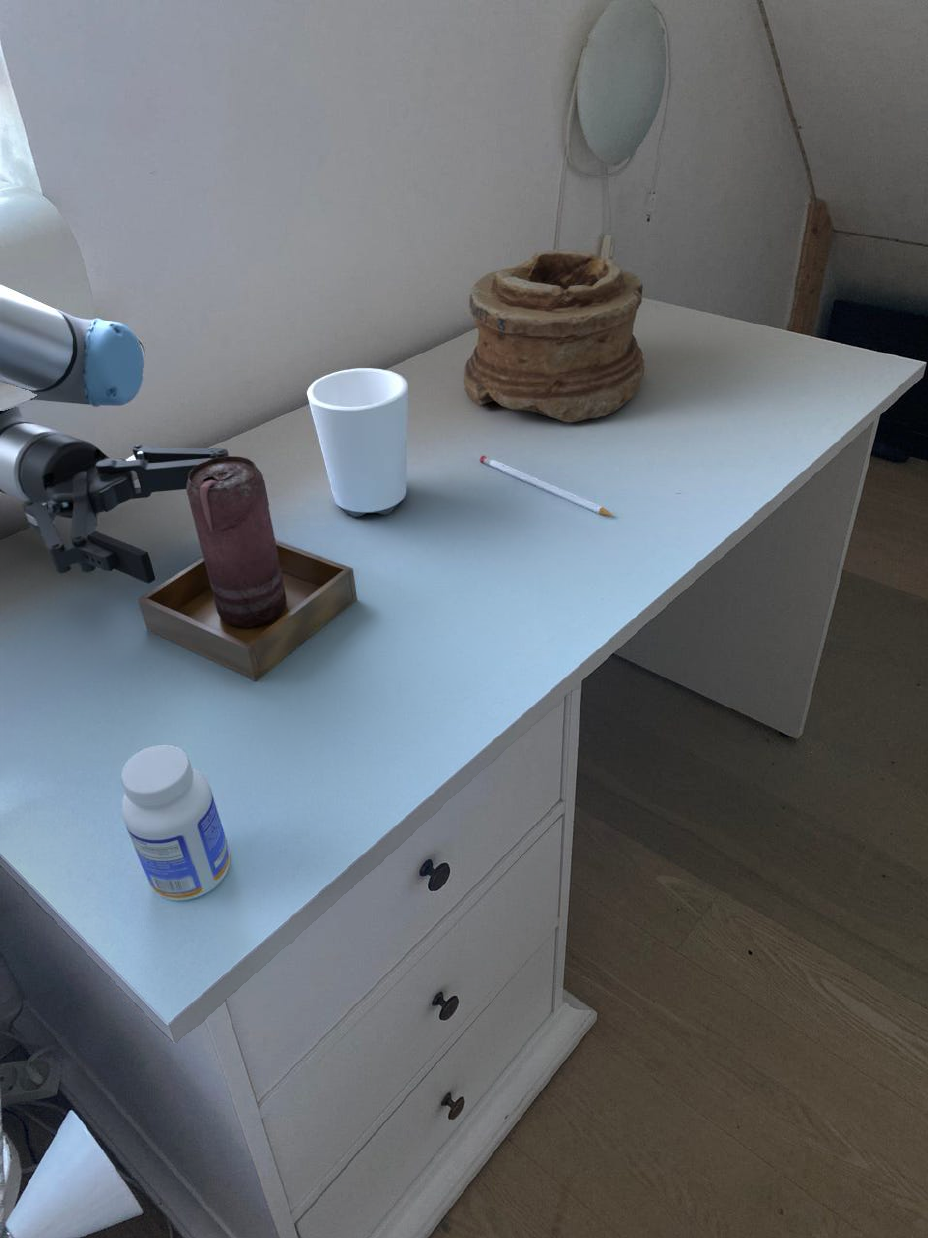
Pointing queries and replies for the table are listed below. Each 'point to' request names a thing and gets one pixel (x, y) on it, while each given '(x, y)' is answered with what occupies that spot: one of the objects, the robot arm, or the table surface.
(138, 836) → the pill bottle
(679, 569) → the table surface
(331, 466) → the cup
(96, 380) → the robot arm
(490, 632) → the table surface
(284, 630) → the tray
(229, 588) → the can
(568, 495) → the pencil
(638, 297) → the container
